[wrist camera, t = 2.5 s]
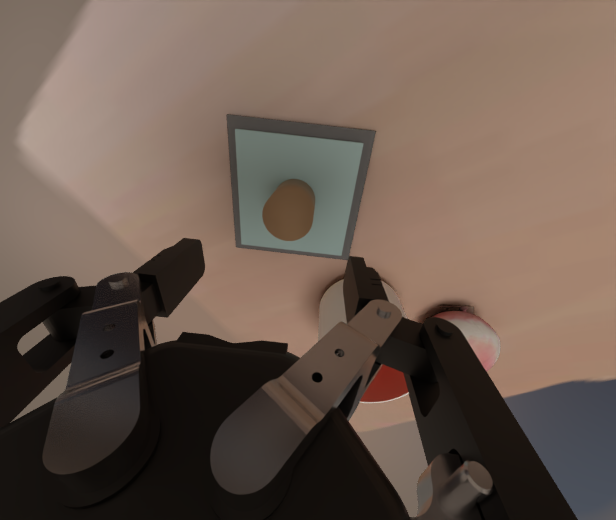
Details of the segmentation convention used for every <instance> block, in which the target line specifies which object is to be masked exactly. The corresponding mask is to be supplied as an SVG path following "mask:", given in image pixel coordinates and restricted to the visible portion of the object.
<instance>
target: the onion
mask: <svg viewBox="0 0 616 520" xmlns="http://www.w3.org/2000/svg"><path fill="white" fill-rule="evenodd" d="M440 307H442V308H446V309H448V308H450V307H451V306H440ZM453 307H460V309H459V311H446V312H441V313H438V314H436V315H434V316H433V317H438V318H442V319H445V320H447V321H449V322H451V323H453V324H454V325H455V326H457V327H458V328H459V329H460V330H461V332H462V333H463V335H464V336H465V338H466V339H467V341H468V343H469V344H470V346H471V347H472V349H473V351H474V352H475V354H476V356H477V357H478V359H479V360H480V362H481V364H482V365H483V367H484V369H485V370H486V371H488V370H489V369H490V368H491V367H492V366H493V365H494V364H495V363H496V361H497V359H498V357H499V354H500V339H499V336H498V335H497V333H496V332H495V331H494V330H493V328H492V327H491V326H490V325H489V324H488V323H487V322H485V321H484V320H483V319H481V318H480V317H478V316H476V315H474V314H473V312H474V307H473V306H453Z"/></svg>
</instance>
